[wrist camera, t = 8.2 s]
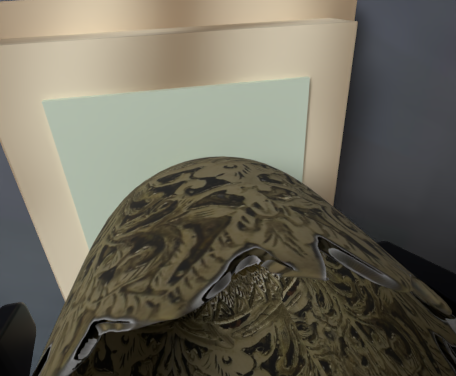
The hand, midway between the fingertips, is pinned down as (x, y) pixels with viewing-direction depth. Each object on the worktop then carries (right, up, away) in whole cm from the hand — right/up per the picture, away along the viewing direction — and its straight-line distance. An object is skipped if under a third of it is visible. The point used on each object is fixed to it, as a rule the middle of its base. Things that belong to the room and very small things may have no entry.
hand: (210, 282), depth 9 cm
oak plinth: (-2, +4, +7) cm, 8 cm away
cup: (-1, +2, +3) cm, 4 cm away
